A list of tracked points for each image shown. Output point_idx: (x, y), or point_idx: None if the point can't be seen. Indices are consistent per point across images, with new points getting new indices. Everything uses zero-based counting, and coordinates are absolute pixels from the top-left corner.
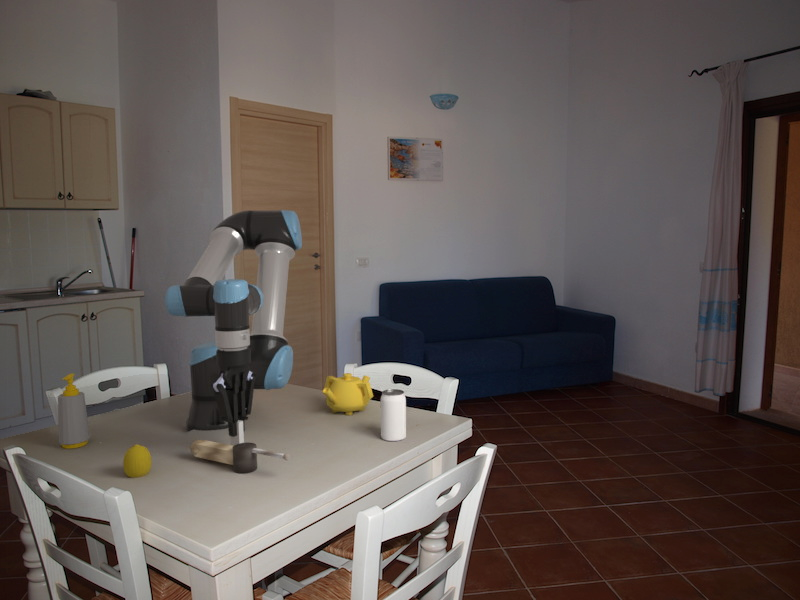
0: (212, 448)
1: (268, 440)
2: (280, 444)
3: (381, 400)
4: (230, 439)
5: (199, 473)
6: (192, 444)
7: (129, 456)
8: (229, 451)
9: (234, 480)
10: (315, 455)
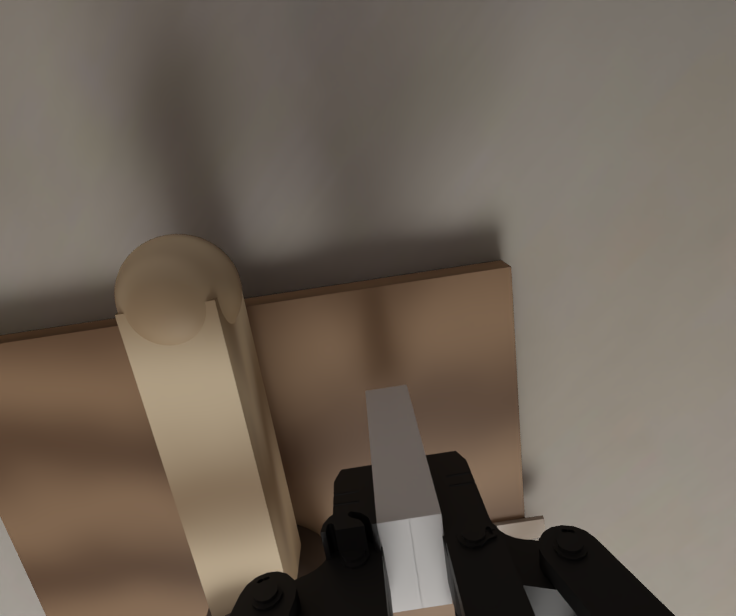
0: (170, 478)
1: (712, 279)
2: (682, 383)
3: None
4: (368, 423)
5: None
6: (117, 291)
7: None
8: (208, 598)
9: None
10: None
